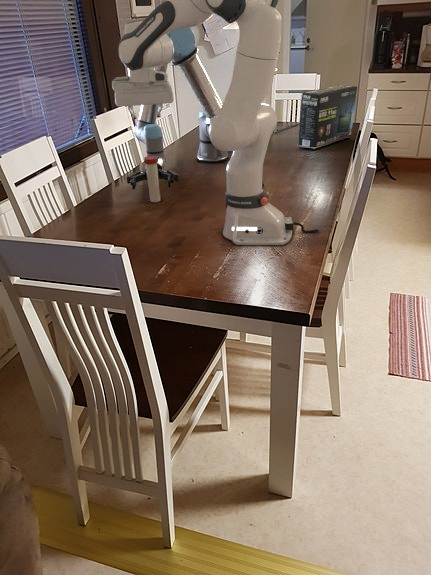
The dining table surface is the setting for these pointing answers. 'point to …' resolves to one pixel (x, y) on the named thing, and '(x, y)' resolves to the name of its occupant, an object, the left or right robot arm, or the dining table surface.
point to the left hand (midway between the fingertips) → (151, 185)
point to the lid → (150, 160)
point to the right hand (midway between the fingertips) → (146, 118)
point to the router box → (326, 115)
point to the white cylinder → (153, 182)
